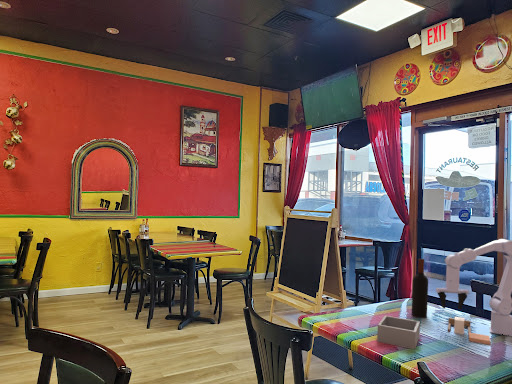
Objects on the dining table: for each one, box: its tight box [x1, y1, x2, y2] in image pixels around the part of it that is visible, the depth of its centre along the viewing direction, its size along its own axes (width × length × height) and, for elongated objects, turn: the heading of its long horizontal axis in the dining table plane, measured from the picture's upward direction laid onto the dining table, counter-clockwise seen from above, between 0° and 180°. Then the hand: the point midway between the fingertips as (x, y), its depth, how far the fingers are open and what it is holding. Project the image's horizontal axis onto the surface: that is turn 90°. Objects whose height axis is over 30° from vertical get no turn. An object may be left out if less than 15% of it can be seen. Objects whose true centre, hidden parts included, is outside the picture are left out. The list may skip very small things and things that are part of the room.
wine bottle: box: [411, 258, 429, 319], centre depth 210 cm, size 8×8×30 cm
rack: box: [447, 317, 472, 336], centre depth 190 cm, size 10×14×3 cm
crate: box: [376, 315, 421, 350], centre depth 171 cm, size 15×17×7 cm
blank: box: [453, 316, 465, 335], centre depth 186 cm, size 4×6×6 cm, turn 152°
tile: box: [468, 332, 491, 345], centre depth 175 cm, size 8×8×2 cm
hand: (451, 308), depth 191 cm, fingers open, 7 cm apart
